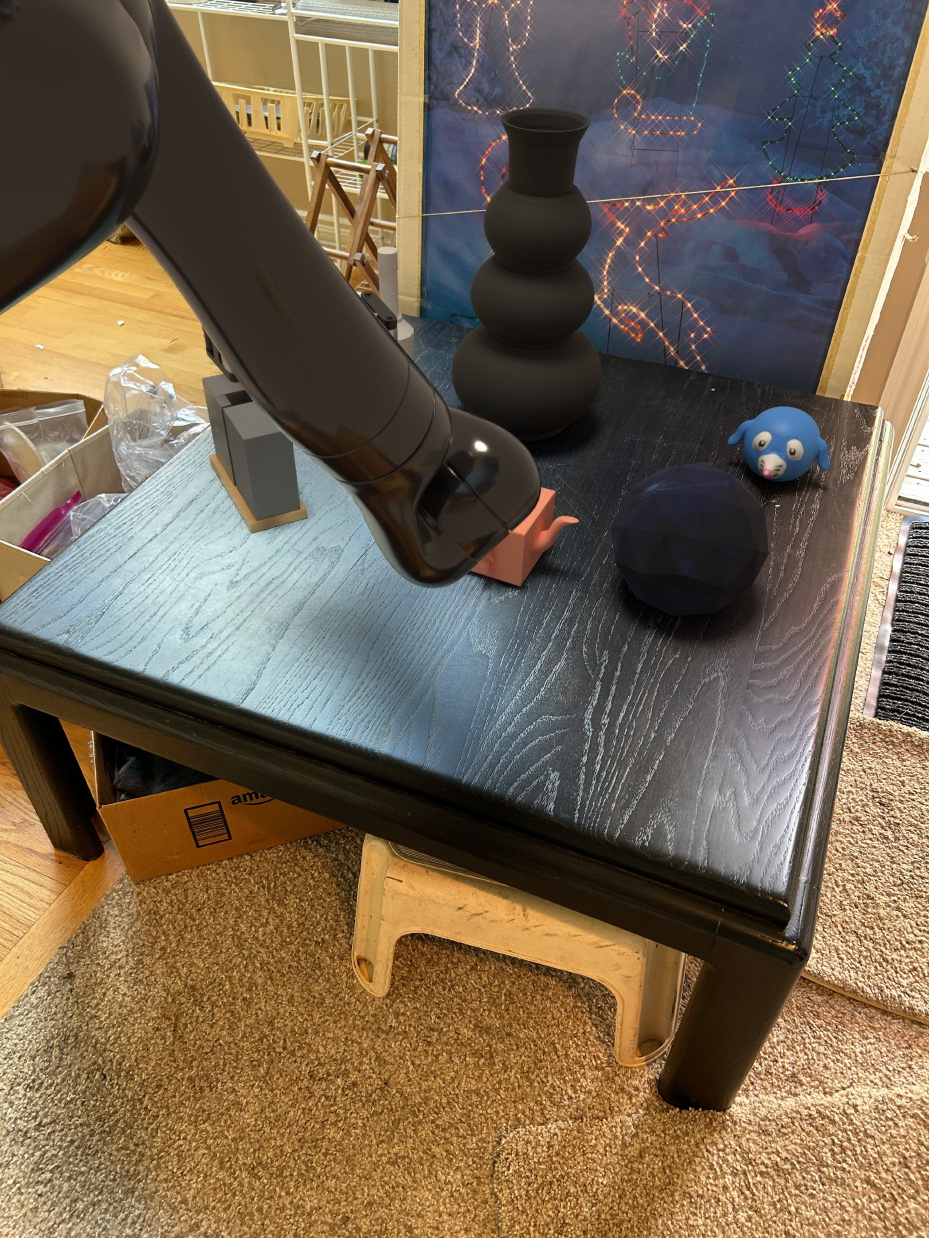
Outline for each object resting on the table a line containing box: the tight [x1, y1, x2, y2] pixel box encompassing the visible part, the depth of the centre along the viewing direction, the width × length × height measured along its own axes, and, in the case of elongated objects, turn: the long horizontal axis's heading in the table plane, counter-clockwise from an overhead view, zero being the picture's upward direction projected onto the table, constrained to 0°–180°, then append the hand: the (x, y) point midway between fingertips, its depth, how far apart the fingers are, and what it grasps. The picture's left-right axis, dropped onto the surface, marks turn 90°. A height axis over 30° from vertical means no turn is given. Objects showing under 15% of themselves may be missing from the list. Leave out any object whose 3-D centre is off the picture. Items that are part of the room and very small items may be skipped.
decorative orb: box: [610, 461, 770, 617], centre depth 86 cm, size 14×15×15 cm
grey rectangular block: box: [223, 402, 301, 521], centre depth 97 cm, size 5×9×10 cm, turn 28°
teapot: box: [469, 486, 580, 587], centre depth 92 cm, size 12×15×8 cm
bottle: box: [376, 246, 415, 361], centre depth 100 cm, size 5×5×25 cm
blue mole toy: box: [727, 406, 832, 482], centre depth 104 cm, size 12×12×8 cm
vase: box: [451, 107, 603, 442], centre depth 104 cm, size 18×18×35 cm
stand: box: [201, 373, 308, 534], centre depth 99 cm, size 6×15×11 cm, turn 28°
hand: (271, 299), depth 75 cm, fingers open, 8 cm apart
